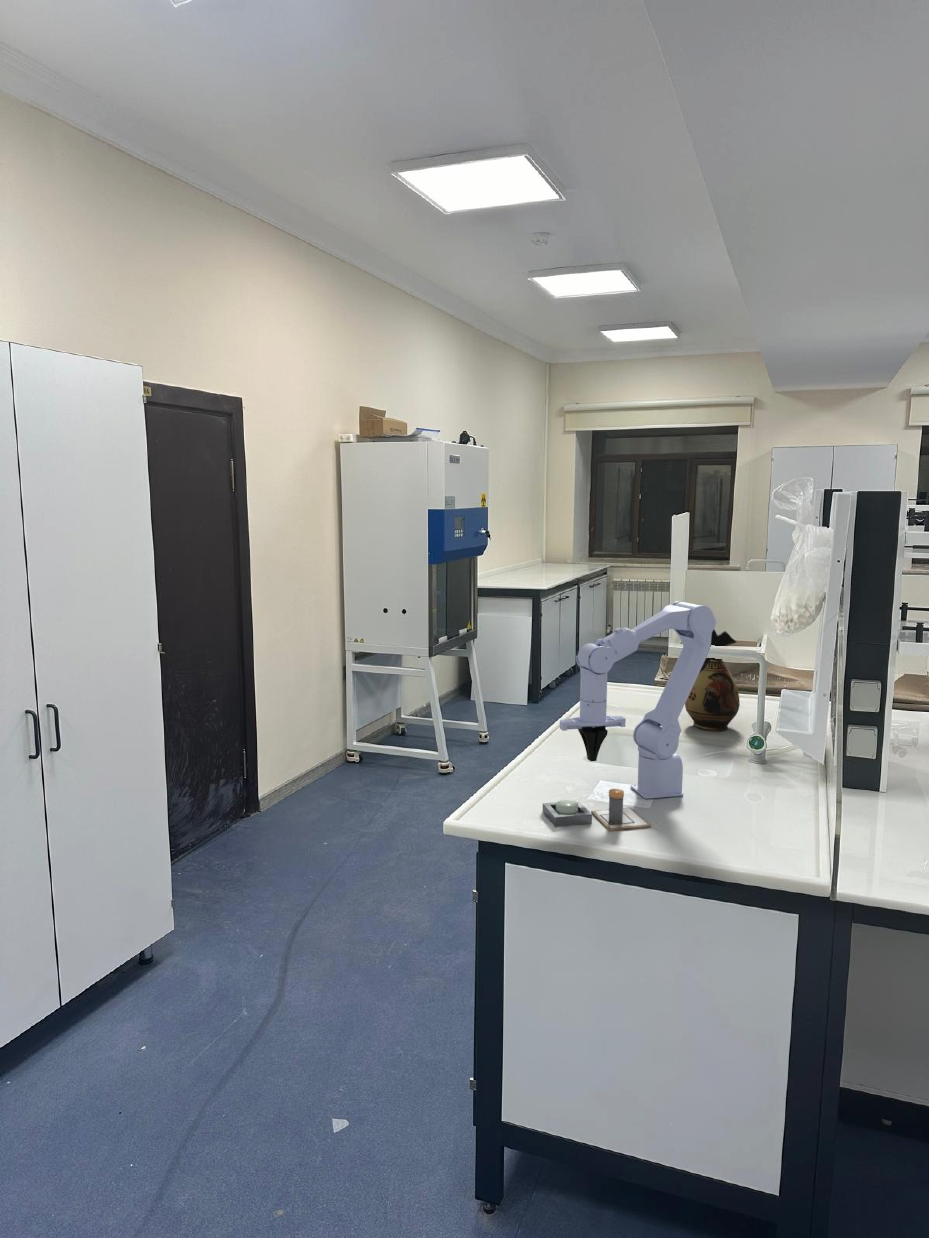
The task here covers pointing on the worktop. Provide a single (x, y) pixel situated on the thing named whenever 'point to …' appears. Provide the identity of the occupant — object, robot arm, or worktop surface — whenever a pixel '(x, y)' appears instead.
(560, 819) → the button housing
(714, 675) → the ceramic jug
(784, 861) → the worktop surface
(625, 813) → the wooden framed board
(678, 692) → the robot arm
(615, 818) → the marker
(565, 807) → the button
